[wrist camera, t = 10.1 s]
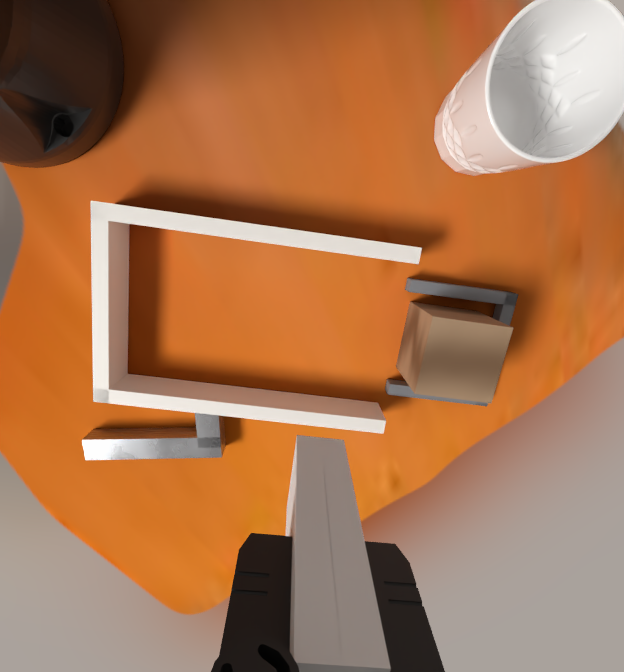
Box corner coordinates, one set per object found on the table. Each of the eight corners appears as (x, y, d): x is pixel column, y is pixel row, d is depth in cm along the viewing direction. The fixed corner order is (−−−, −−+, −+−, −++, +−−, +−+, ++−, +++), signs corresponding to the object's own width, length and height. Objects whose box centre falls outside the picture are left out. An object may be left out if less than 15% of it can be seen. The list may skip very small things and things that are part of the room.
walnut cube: (409, 301, 33) (432, 316, 27) (476, 310, 33) (513, 327, 28) (395, 366, 35) (414, 393, 29) (459, 374, 35) (491, 403, 29)
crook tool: (88, 398, 35) (75, 408, 33) (222, 396, 35) (217, 406, 33) (97, 447, 36) (85, 460, 34) (226, 445, 36) (221, 457, 34)
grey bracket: (407, 277, 32) (411, 279, 31) (510, 292, 33) (518, 294, 32) (384, 389, 35) (387, 394, 34) (481, 400, 36) (487, 406, 34)
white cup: (521, 57, 28) (635, -33, 19) (532, 169, 30) (639, 140, 21) (417, 86, 29) (476, 13, 19) (434, 195, 31) (495, 179, 21)
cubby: (114, 203, 30) (90, 200, 27) (409, 245, 32) (421, 247, 28) (113, 384, 34) (93, 401, 31) (375, 414, 36) (383, 433, 32)
